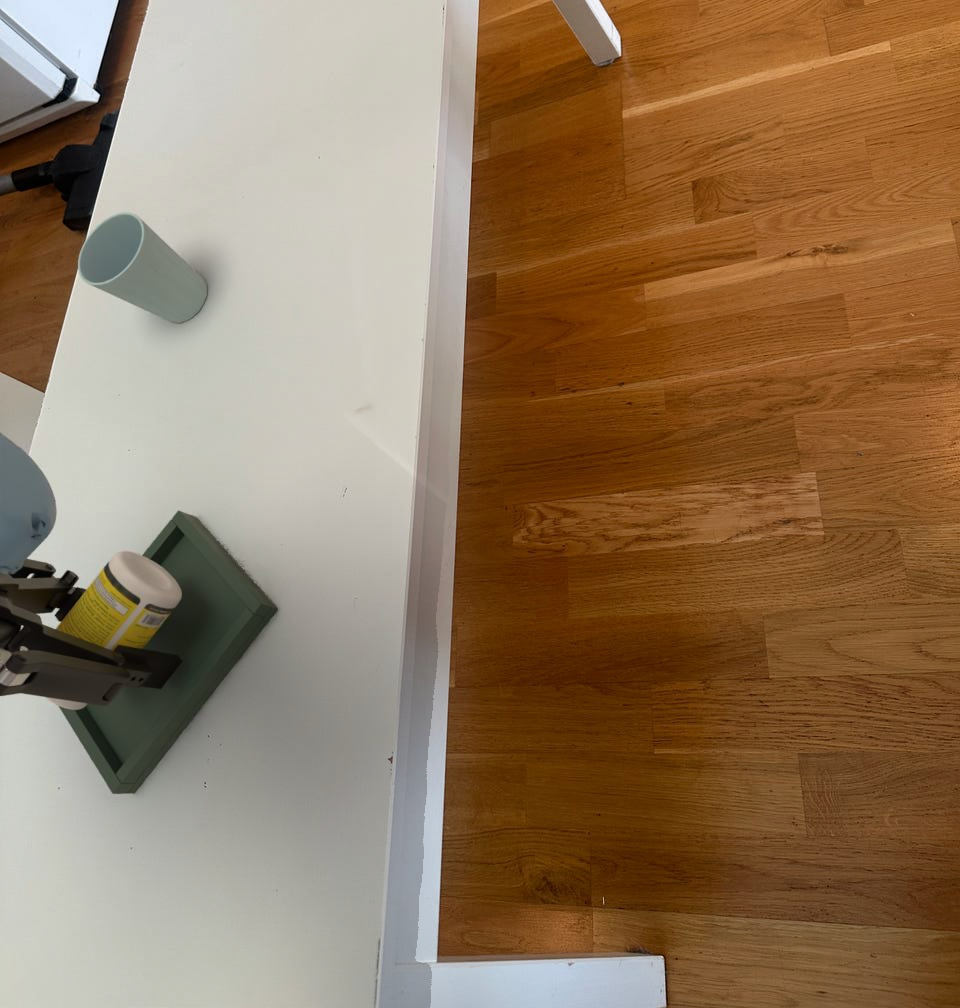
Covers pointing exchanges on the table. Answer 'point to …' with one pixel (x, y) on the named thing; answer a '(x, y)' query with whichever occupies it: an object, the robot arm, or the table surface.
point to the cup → (141, 269)
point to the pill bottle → (122, 606)
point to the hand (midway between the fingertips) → (148, 643)
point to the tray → (187, 633)
